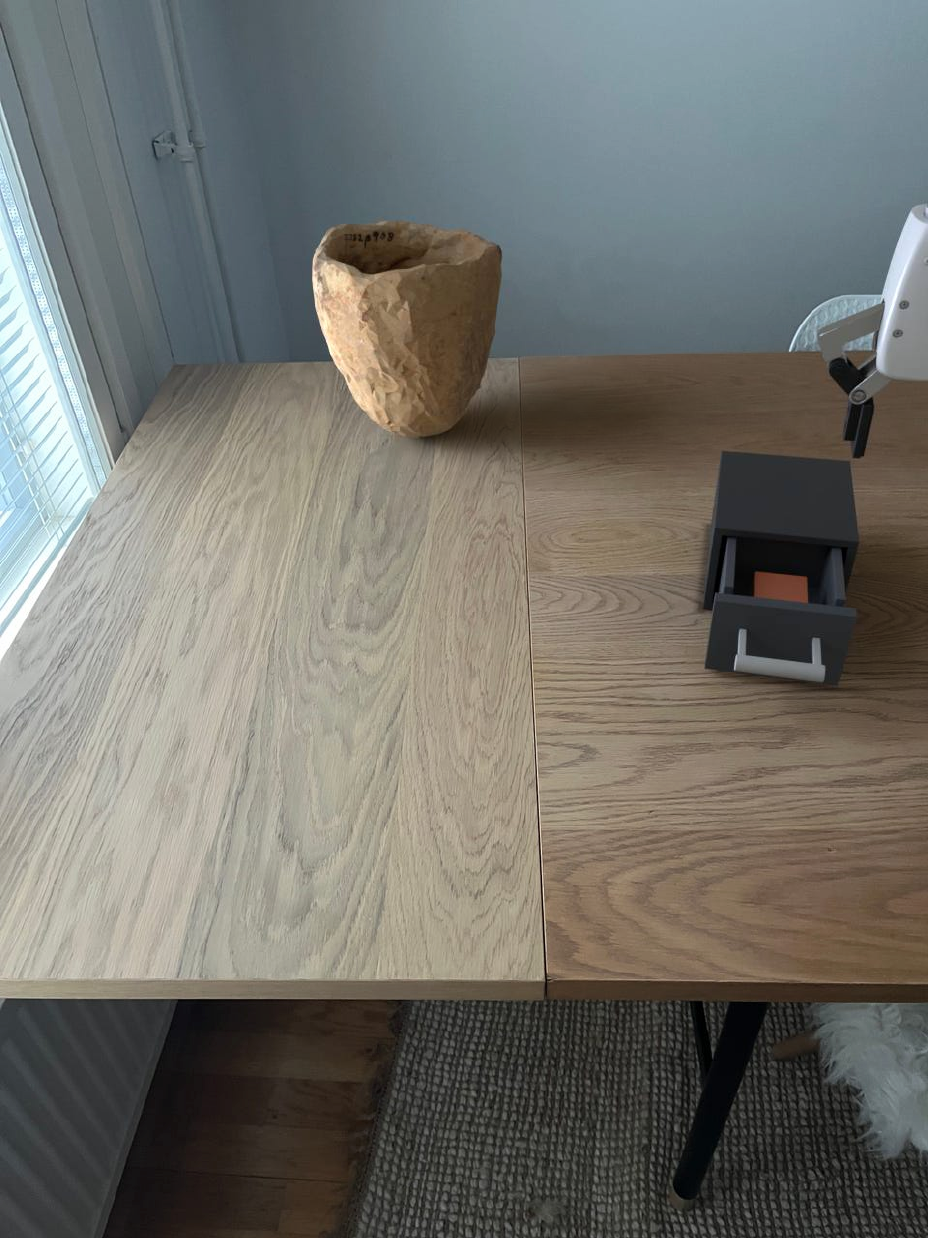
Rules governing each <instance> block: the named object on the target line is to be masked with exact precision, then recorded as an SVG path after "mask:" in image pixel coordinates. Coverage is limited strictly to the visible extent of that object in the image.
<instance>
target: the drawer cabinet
mask: <svg viewBox="0 0 928 1238" xmlns="http://www.w3.org/2000/svg"><path fill="white" fill-rule="evenodd" d="M715 487H716V488H715V494H714V495H715V496H714V501H713V508H712V515H711V523H710V529H709V531H710V532H709V541H708V549H707V550H708V551H707V561H706V571H705V582H704V590H703V591H704V592H703V602H702V609H703V610H704V609H705V610H712V611H713V605H714V599H715V593H718V592H719V579H720V573H721V566H722V560H723V554H724V547H725V541H726V536H736V537H746V538H756V539H766V540H776V541H786V542H796V543H806V544H816V545H826V546H836V547H841V551H842V562H843V573H844V585H845V596H847V595H846V594H847V590H848V587H849V583H850V579H851V575H852V573H853V569H854V565H855V560H856V557H857V552H858V548H859V544H860V536H859V535H860V534H859V527H858V519H857V509H856V501H855V500H856V499H855V491H854V485H853V475H852V467H851V461H850V460H843V459H841V460H840V459H829V458H817V457H816V458H815V457H807V456H806V457H804V456H791V455H781V454H780V455H779V454H769V453H768V454H767V453H755V452H743V451H730V450H721V453H720V460H719V467H718V472H717V481H716V486H715Z"/></svg>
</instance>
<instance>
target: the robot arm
mask: <svg viewBox="0 0 928 1238" xmlns="http://www.w3.org/2000/svg"><path fill="white" fill-rule="evenodd" d="M870 334H872V336H871V337H872V338H871V350H872V351H875V352H874V353H873V354H872V355H871V356H869V358H867V359H866V360H865V361H864V362H863V363H861V364H860V365H859V366H858V367H857V366H856V365H855V364H854V363H853V362H852V361H851V359H850V358H849V357H848V356H847V355H846V352H845V349H844V347H845V345H846V344H848V343H851V342H853V341H855V340H858V339H860V338H863V337H865V336H868V335H870ZM816 336H817V345H818V347H819V350H820V352H821V355H822V357H823V360H824V363H825V365H826V367H827V369H828V374H829V375H830V377H831V378H832V379H833V381H834V382H835V383H836V384H837V385H838V386H839V387H840V389H841V390H843V392H844V393H845V394H846V395H847V396H848V401H847V407H846V412H845V418H844V423H843V427H842V428H843V429H842V441H843V442H845V441H846V442H850V450H851V458H852V459H861V458H864V457H865V454H866V449H867V444H868V440H869V435H870V431H871V430H870V429H871V426H872V421H873V417H874V413H875V402H874V396H875V395H877V393H878V392H880V391H881V390H882V389H883V388H885V386H887V385H888V384H889V383H891V382H892V381H893V380H899V381H907V382H909V381H911V382H928V200H926V204H925V203H924V204H918V205H915V206H913V207H912V208H911V209H910V211H909V214H908V216H907V218H906V220H905V222H904V225H903V227H902V230H901V233H900V236H899V239H898V241H897V243H896V246H895V250H894V253H893V256H892V258H891V262H890V266H889V268H888V271H887V275H886V279H885V282H884V286H883V289H882V293H881V297H880V301H879V303H878V304H875V305H873V306H871V307H868V308H865V309H863V310H861V311H858V312H856V313H853V314H851V315H849V316H846V317H844V318H841V319H838V320H836V321H834V322H831V323H829V324H827V325H824V326H822V327H821V328H819V329H818V331H817V334H816Z"/></svg>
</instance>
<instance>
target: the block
mask: <svg viewBox="0 0 928 1238" xmlns="http://www.w3.org/2000/svg"><path fill="white" fill-rule="evenodd" d="M750 597H759V598H768V599H777V600H785V601H794V602H803V603H808V581H807V577H802V576H793V575H784V574H775V573H765V572H755V574H754V579H753V585H752V590H751V595H750Z"/></svg>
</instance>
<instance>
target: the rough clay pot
mask: <svg viewBox="0 0 928 1238" xmlns="http://www.w3.org/2000/svg"><path fill="white" fill-rule="evenodd" d="M502 261H503V251H502V249H501V247H500V245H499V244H496V243H495V242H492V241H488V240H486V239H485V238H483V237H482V236H480V235H478V234H475V233H473V232H471V231H469V230H467V229H452V230H446V229H443V228H440V227H437V226H434V225H430V224H424V223H419V222H412V221H405V220H394V219H393V220H392V219H389V220H387V219H385V220H384V219H383V220H379V221H378V222H367V223H361V224H360V223H357V224H356V223H341V224H337V225H334V226H332V227H330V228H328V229H327V230H326V232H325V234H324V235H323V237H322V239H321V241H320V243H319V245H318V247H317V248H316V249H315V252H314V255H313V259H312V276H311V277H312V289H313V296H314V306H315V311H316V314H317V318H318V321H319V325H320V328H321V332H322V334H323V337H324V339H325V341H326V345H327V347H328V351H329V354H330V356H331V358H332V360H333V363H334V364H335V366H336V368H337V369H338V370H339V371H340V373H341V374H342V375H343V376H344V380H345V382H346V385H347V387H348V389H349V392H350V394H351V396H352V398H353V399H354V401H355V402H356V404H357V405H358V406H359V407H360V408H361V409H362V411H363V412H364V413H365V414H366V415H367V416H368V417H369V418H370V419H371V420H372V421H373V422H375V423H376V424H377V425H378V426H380V427H381V428H383V429H384V430H385V431H387V432H390V433H392V434H394V435H396V436H399V437H402V438H406V439H415V440H416V439H419V438H420V437H422V438H423V437H430V436H431V437H432V436H436V435H441V434H443V433H444V432H446V431H450V430H451V428H453V427H454V426H455V425H456V424H457V423H458V422H459V421H460V420H461V419H462V418H463V416H464V415H465V413H466V411H467V408H468V406H469V404H470V402H471V400H472V399H473V397H475V395H476V394H477V391H478V390H480V389H481V383H482V380H483V378H484V376H485V373H486V370H487V365H488V361H489V357H490V354H491V348H492V344H493V340H494V338H495V334H496V320H497V311H498V303H499V297H500V288H501V284H502V278H503V277H502V275H503V273H502Z"/></svg>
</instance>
